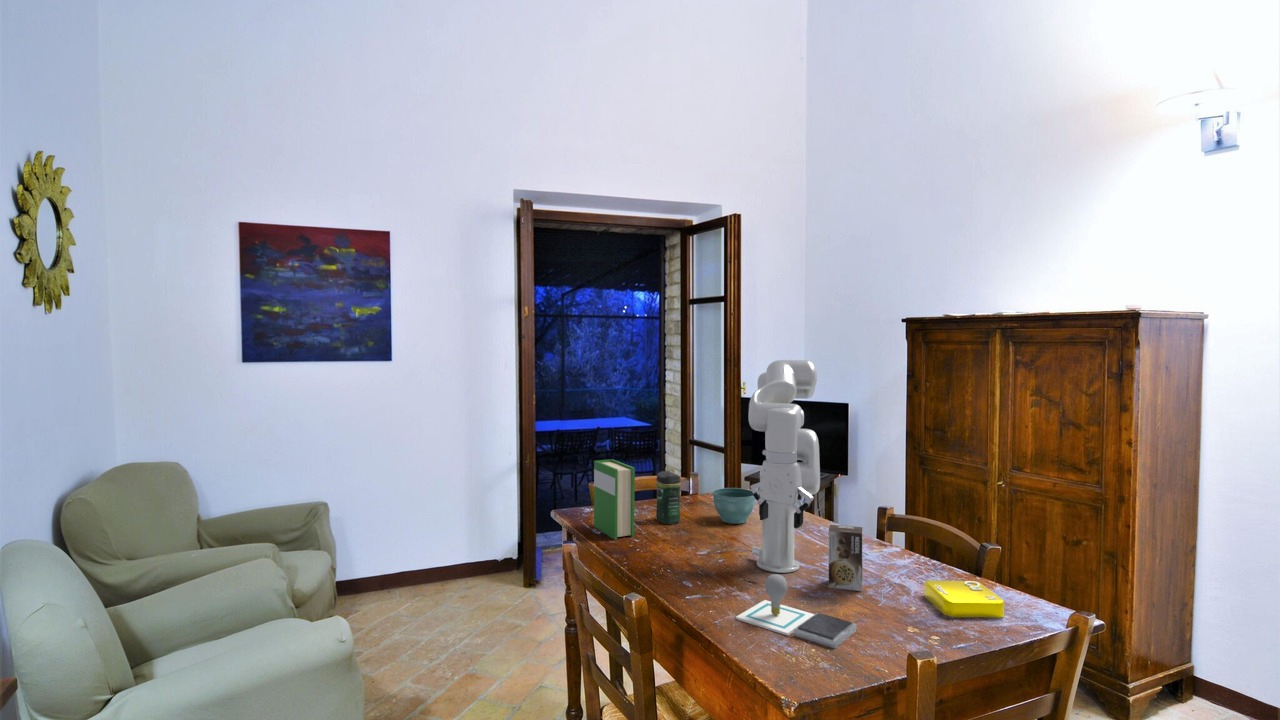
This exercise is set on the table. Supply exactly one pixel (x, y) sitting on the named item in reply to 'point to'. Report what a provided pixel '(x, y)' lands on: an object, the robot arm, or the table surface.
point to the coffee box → (845, 557)
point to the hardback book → (614, 498)
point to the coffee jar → (668, 497)
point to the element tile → (964, 599)
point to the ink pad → (825, 630)
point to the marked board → (774, 617)
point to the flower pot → (733, 504)
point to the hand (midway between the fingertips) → (780, 522)
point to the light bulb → (775, 591)
